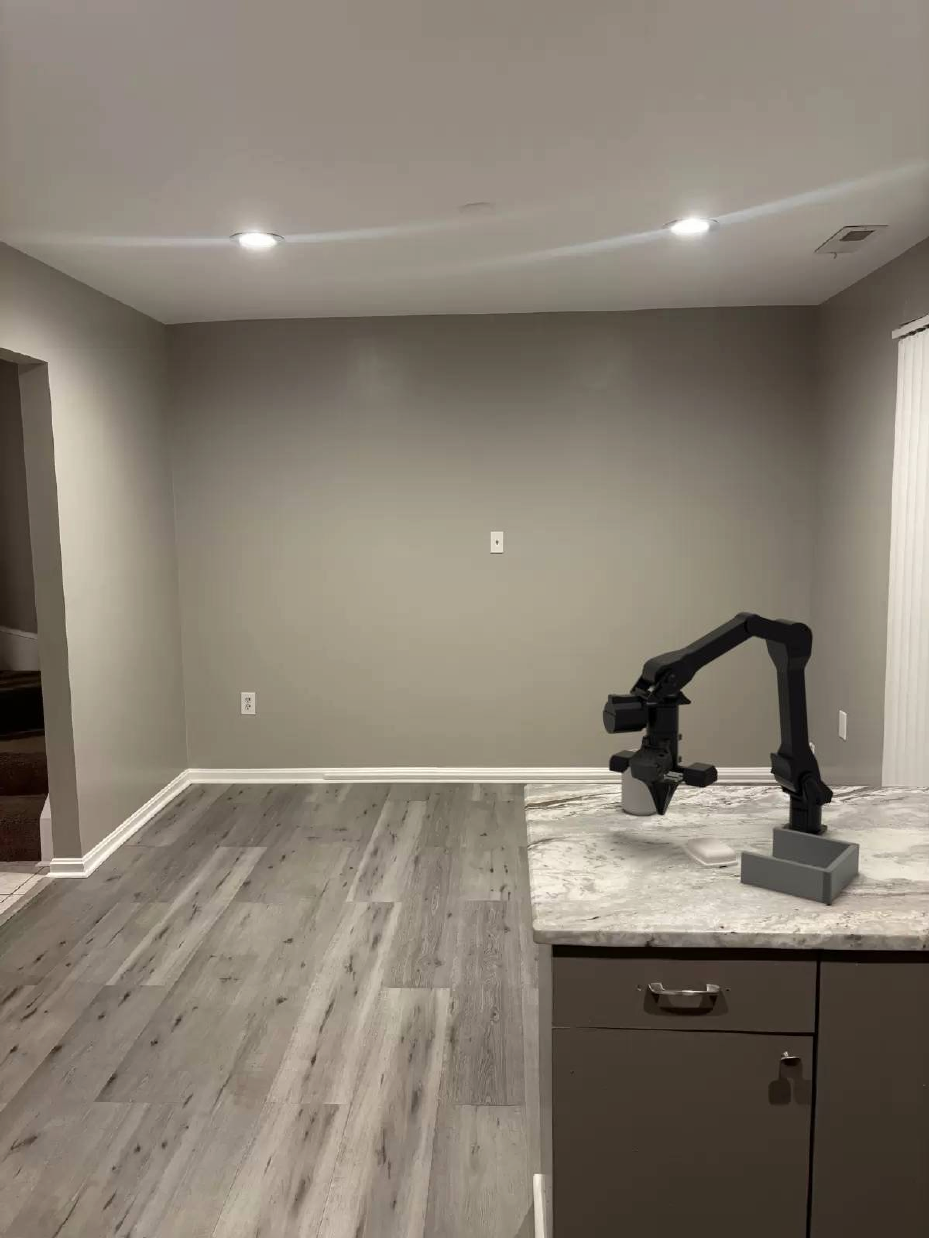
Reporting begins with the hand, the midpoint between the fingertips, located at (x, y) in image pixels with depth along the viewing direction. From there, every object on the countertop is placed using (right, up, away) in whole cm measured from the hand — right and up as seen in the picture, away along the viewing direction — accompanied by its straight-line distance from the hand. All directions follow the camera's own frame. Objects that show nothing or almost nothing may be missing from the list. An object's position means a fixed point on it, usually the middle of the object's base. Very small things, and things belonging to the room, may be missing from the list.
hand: (661, 814), depth 169 cm
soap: (+7, -7, -6) cm, 11 cm away
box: (+20, -7, -15) cm, 26 cm away
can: (0, -3, +20) cm, 20 cm away
